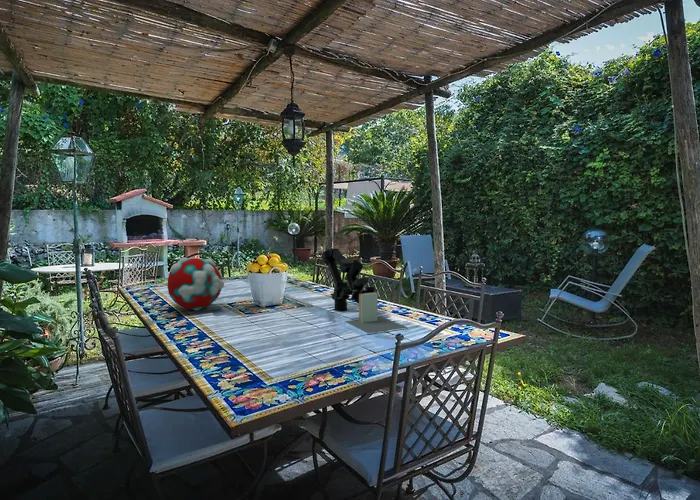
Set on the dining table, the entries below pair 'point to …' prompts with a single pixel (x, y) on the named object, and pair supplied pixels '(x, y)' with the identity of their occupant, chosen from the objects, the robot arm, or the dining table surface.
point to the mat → (377, 325)
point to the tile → (368, 307)
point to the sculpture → (194, 283)
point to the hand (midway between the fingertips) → (363, 305)
